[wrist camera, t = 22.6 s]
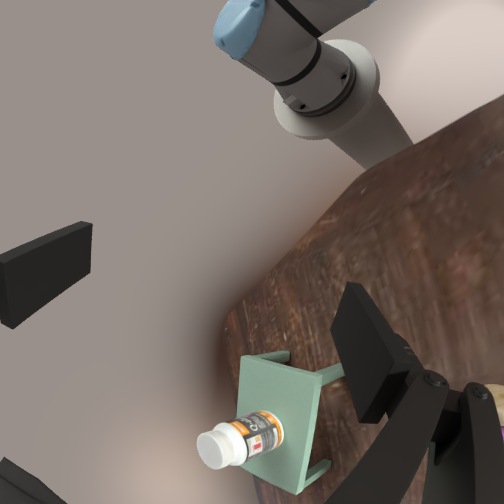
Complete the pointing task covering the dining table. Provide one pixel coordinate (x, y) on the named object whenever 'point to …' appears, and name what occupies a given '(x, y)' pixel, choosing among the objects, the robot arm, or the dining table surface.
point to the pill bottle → (240, 439)
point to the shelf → (285, 415)
